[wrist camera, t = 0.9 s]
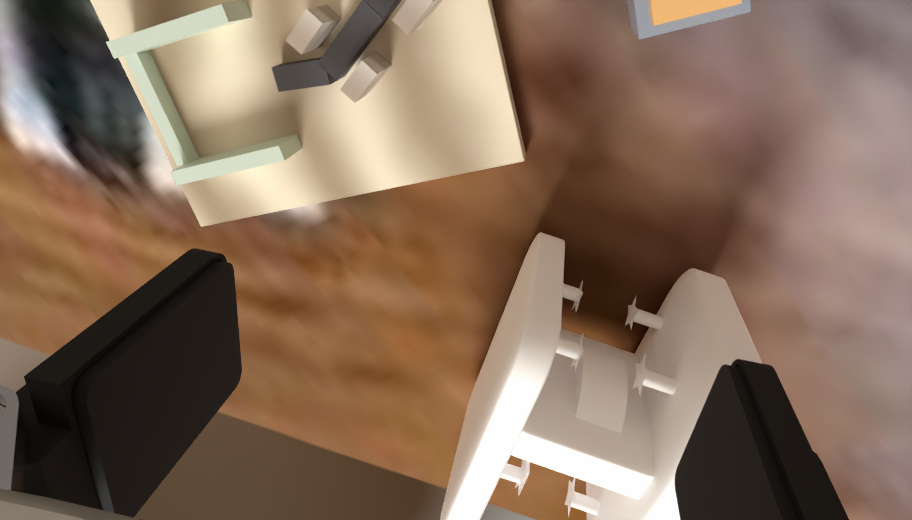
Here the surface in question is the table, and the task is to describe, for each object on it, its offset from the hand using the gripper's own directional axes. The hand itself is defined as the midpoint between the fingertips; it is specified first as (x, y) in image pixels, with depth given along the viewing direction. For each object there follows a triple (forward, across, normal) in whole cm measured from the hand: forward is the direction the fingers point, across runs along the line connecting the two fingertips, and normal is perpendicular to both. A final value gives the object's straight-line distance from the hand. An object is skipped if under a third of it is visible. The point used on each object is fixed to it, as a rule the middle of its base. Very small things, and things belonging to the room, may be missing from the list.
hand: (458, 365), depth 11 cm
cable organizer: (+22, -6, +13) cm, 26 cm away
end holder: (+20, +17, +2) cm, 26 cm away
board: (+21, +12, 0) cm, 24 cm away
